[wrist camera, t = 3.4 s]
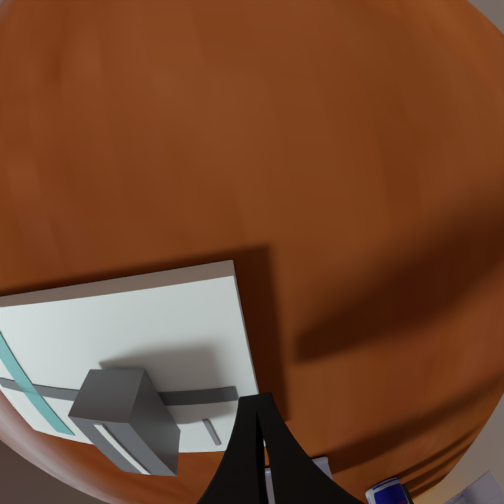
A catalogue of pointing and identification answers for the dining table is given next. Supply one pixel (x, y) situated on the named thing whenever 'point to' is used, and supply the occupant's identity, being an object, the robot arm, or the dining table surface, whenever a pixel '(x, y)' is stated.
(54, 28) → the dining table surface
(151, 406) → the fader knob
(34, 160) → the dining table surface
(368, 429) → the dining table surface
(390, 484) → the beverage can
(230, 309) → the slider panel
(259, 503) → the robot arm
